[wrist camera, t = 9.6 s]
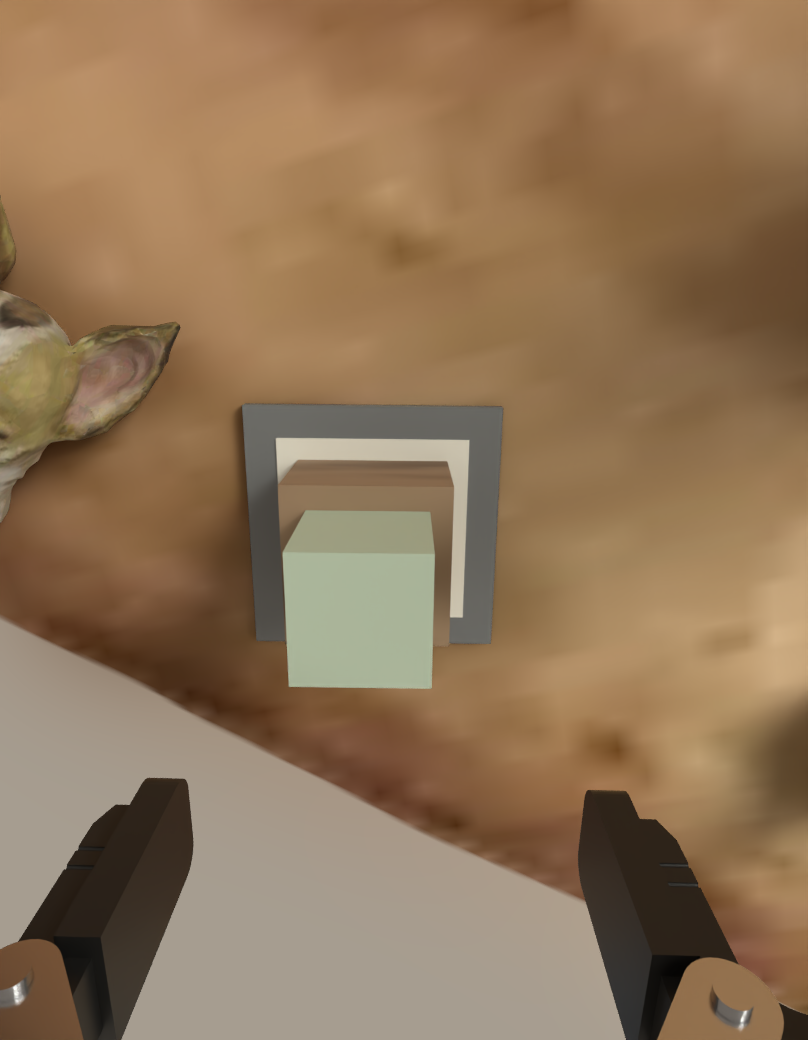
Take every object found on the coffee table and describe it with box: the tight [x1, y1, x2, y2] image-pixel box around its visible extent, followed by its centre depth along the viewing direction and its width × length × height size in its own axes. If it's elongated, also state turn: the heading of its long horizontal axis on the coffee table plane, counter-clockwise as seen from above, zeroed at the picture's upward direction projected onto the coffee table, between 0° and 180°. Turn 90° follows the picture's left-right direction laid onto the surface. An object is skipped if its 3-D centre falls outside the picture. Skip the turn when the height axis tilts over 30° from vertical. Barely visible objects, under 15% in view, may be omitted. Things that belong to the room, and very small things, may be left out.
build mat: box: [242, 404, 503, 644], centre depth 32 cm, size 12×12×1 cm
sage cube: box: [283, 510, 435, 689], centre depth 25 cm, size 5×5×5 cm
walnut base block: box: [278, 460, 454, 646], centre depth 30 cm, size 7×7×5 cm
